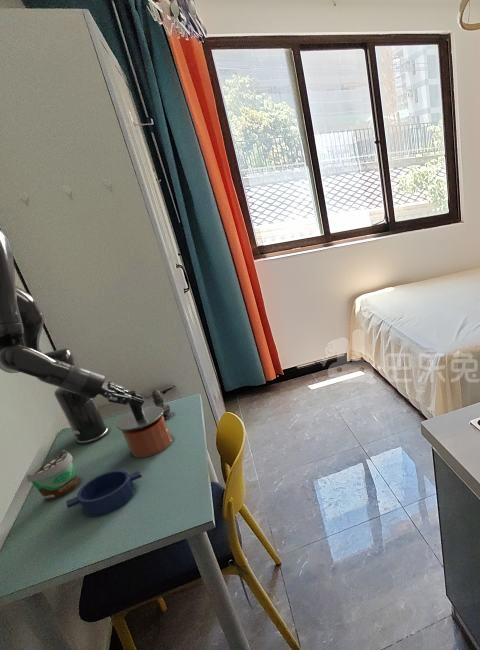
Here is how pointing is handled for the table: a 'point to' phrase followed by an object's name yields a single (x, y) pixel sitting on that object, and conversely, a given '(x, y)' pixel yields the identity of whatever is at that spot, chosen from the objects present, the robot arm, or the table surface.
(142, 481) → the table surface
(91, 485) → the pan
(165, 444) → the pot
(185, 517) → the table surface
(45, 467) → the food container
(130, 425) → the lid
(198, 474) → the table surface
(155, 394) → the grey upright piece
